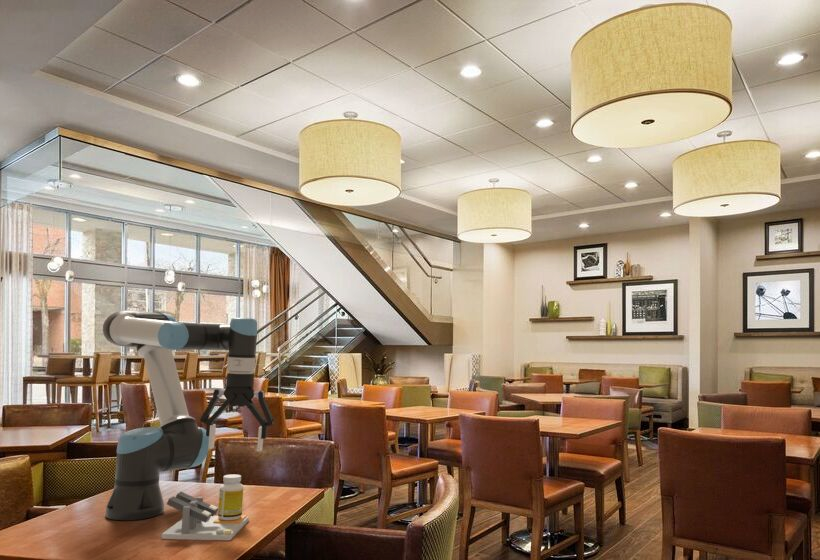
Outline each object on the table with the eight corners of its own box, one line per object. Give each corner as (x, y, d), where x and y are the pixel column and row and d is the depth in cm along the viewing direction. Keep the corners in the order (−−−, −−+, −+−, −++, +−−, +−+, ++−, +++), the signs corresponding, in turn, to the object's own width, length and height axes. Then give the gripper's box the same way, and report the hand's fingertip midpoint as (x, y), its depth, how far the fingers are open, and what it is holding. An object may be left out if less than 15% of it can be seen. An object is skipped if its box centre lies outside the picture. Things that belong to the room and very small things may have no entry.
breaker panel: (161, 538, 151) (163, 507, 152) (186, 519, 169) (188, 491, 170) (230, 540, 151) (231, 508, 152) (248, 520, 169) (249, 492, 170)
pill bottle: (246, 516, 167) (249, 475, 168) (231, 522, 161) (234, 479, 162) (228, 513, 169) (230, 472, 171) (212, 519, 164) (215, 476, 165)
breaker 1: (166, 504, 153) (169, 497, 154) (171, 501, 157) (174, 494, 157) (205, 522, 153) (208, 516, 153) (209, 519, 156) (212, 512, 156)
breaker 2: (174, 499, 159) (177, 492, 159) (179, 496, 162) (181, 490, 162) (212, 516, 158) (215, 510, 159) (216, 513, 162) (219, 507, 162)
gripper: (191, 371, 169) (186, 449, 167) (281, 375, 168) (276, 453, 166) (201, 370, 176) (195, 445, 174) (287, 373, 176) (282, 449, 174)
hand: (235, 449), depth 170 cm, fingers open, 13 cm apart
